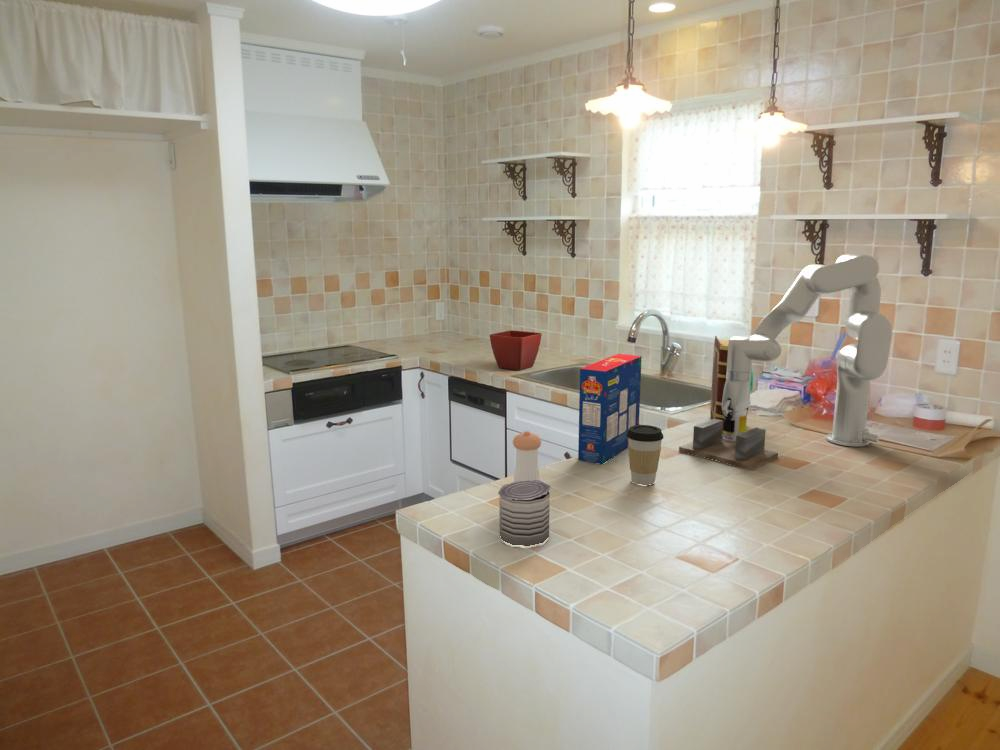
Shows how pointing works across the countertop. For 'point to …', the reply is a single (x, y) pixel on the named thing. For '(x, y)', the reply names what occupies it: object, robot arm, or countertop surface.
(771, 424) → the countertop surface
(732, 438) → the supplement bottle
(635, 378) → the blue cereal box
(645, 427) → the coffee cup
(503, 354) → the plant pot
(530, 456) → the pepper shaker
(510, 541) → the can
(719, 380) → the decorative book
